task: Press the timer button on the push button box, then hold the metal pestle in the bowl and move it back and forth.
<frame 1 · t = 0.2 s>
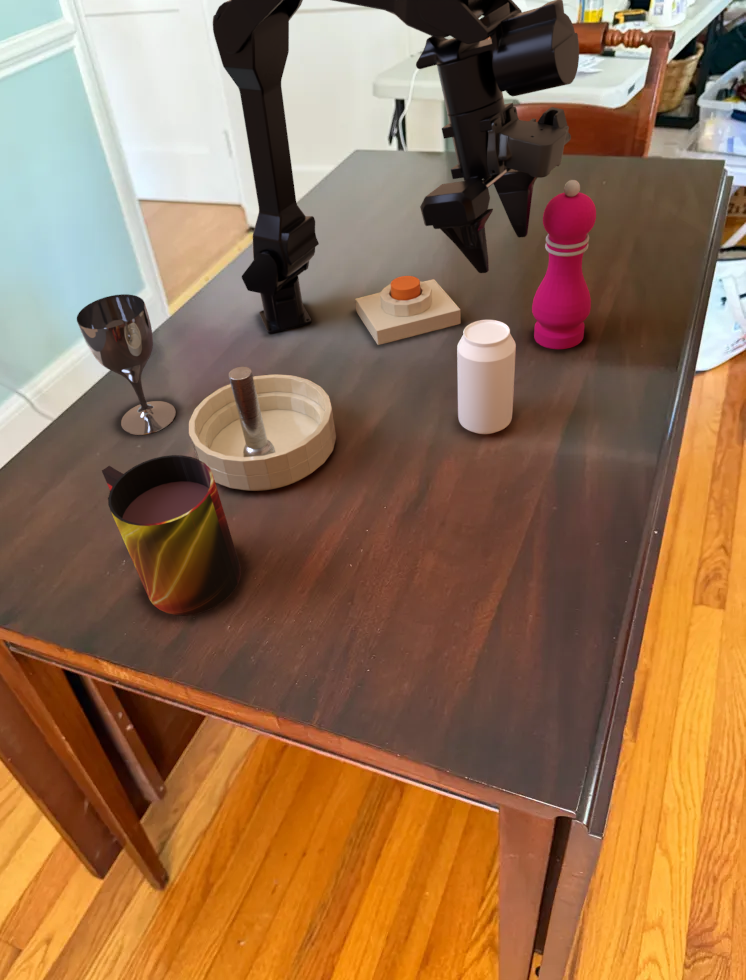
hand: (503, 254, 88), 15 cm above the table, tool pointing down, fingers open, 9 cm apart
metal pestle: (251, 421, 84), point 7 cm above the table, hinge at 0.0°
wine glass: (148, 418, 100), on the table
push button box: (407, 318, 110), on the table
timer button: (405, 288, 107), point 4 cm above the table, slide at 0.1 cm
beverage can: (484, 424, 91), on the table
bowl: (267, 449, 93), on the table
mug: (175, 577, 80), on the table
pepper mill: (558, 338, 103), on the table
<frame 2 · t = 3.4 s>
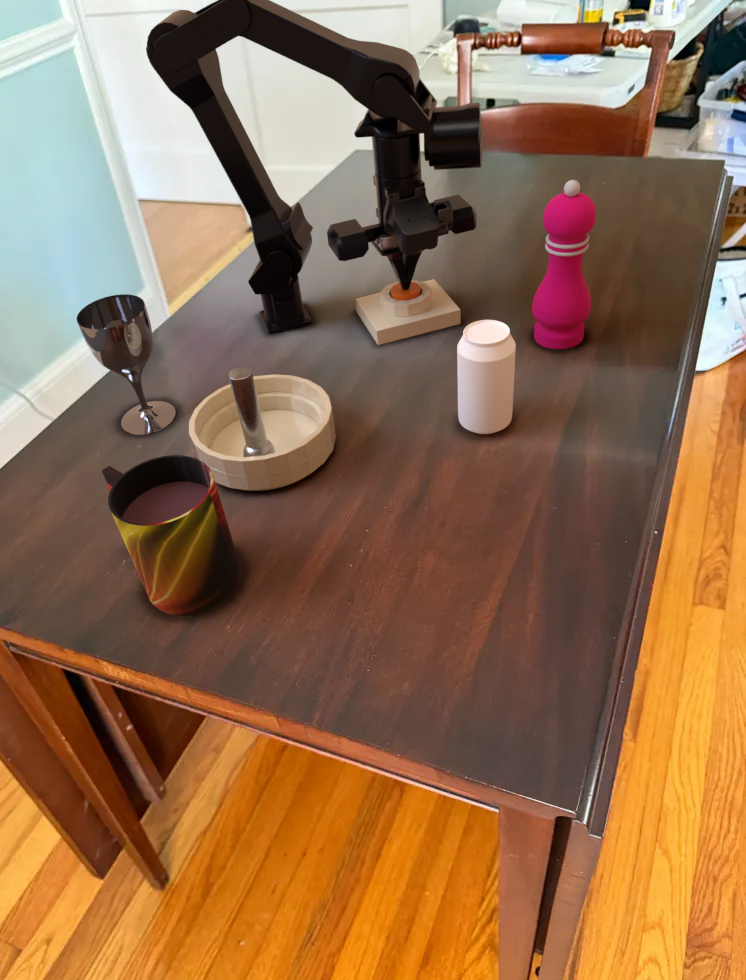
hand: (405, 288, 107), 5 cm above the table, tool pointing down, fingers closed, pressing on timer button
timer button: (405, 294, 108), point 4 cm above the table, slide at -0.7 cm, touching gripper
everything else where it was.
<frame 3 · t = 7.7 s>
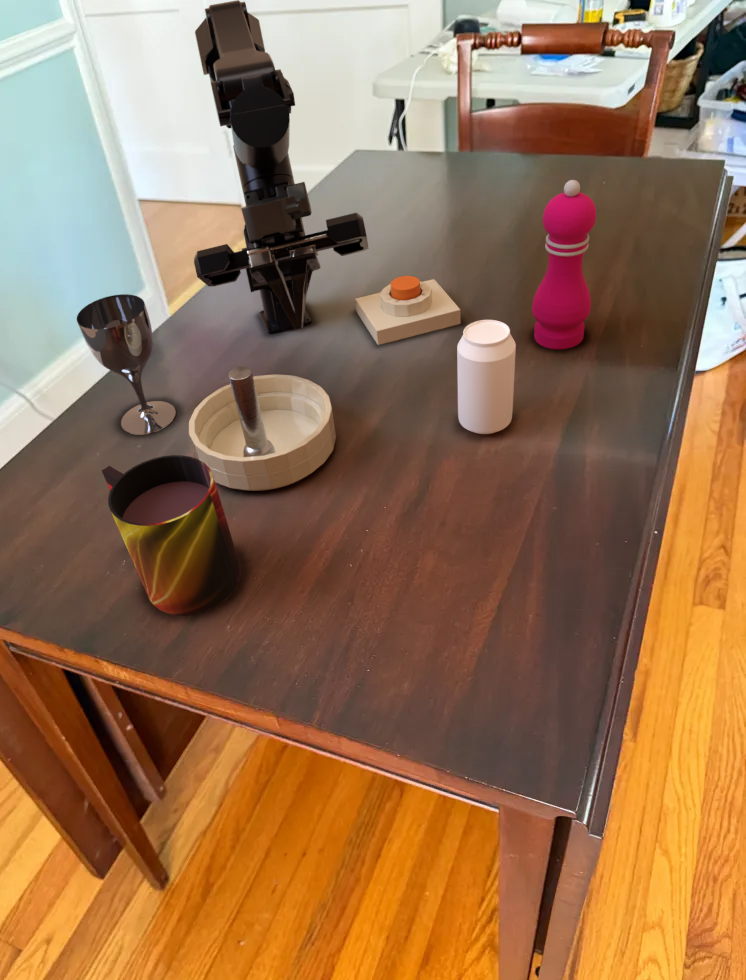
hand: (298, 329, 87), 13 cm above the table, tool tilted 40°, fingers closed
timer button: (405, 288, 107), point 4 cm above the table, slide at 0.1 cm
everything else where it was.
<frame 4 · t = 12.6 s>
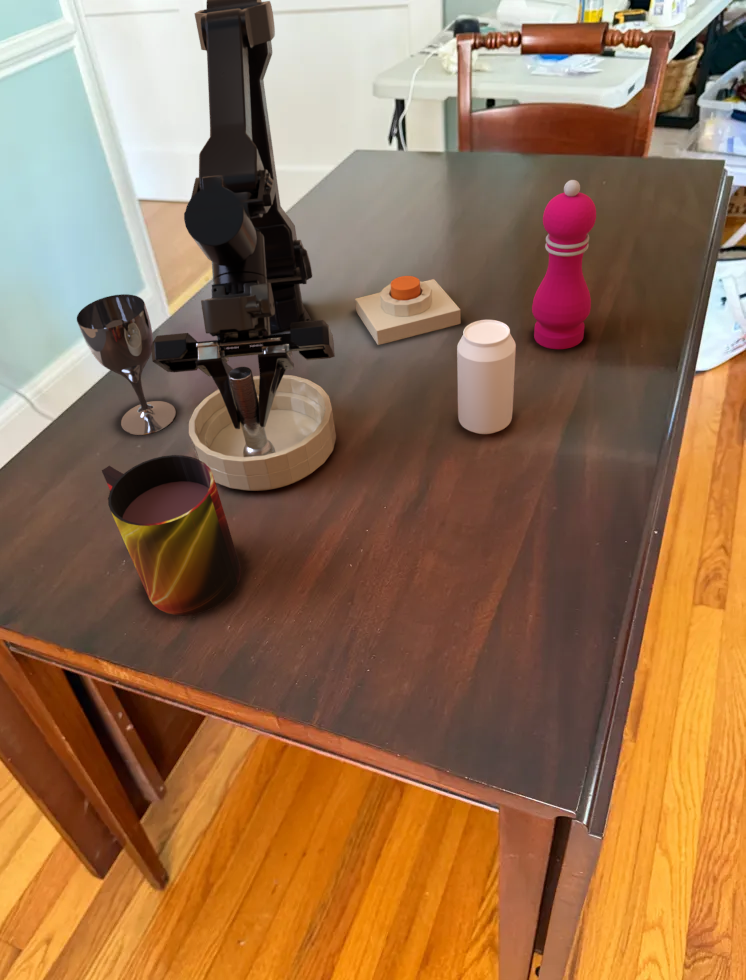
hand: (249, 427, 83), 8 cm above the table, tool tilted 45°, fingers closed on metal pestle, 2 cm apart
metal pestle: (251, 421, 84), point 7 cm above the table, hinge at 0.0°, touching gripper
everything else where it was.
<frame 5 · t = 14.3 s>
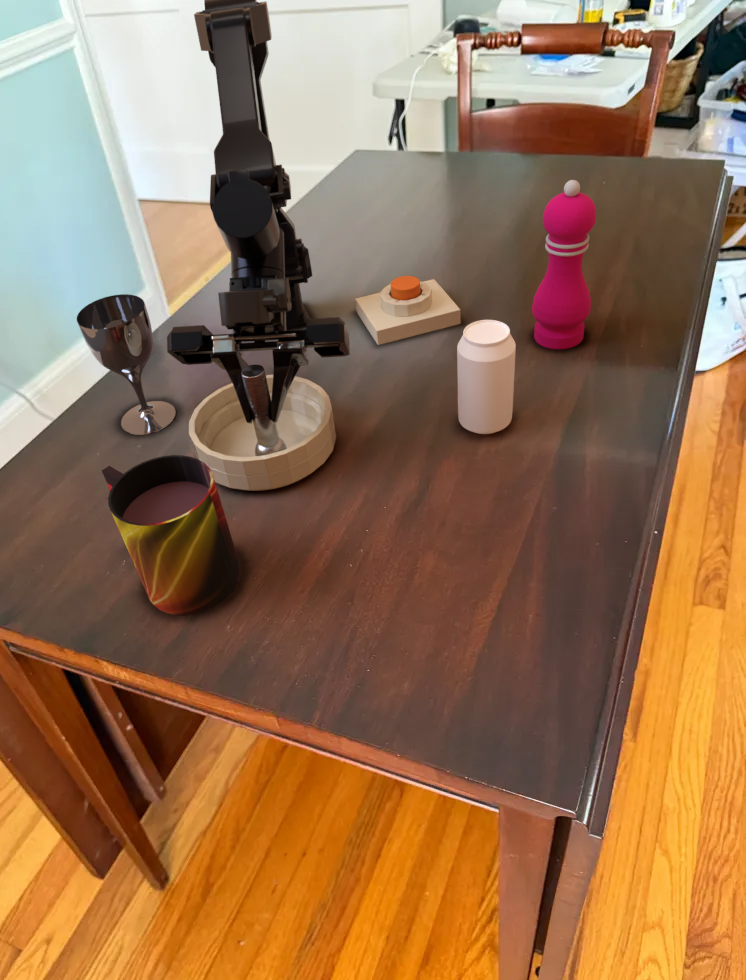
hand: (261, 422, 83), 8 cm above the table, tool tilted 45°, fingers closed on metal pestle, 2 cm apart
metal pestle: (263, 419, 84), point 7 cm above the table, hinge at 17.0°, touching gripper
everything else where it was.
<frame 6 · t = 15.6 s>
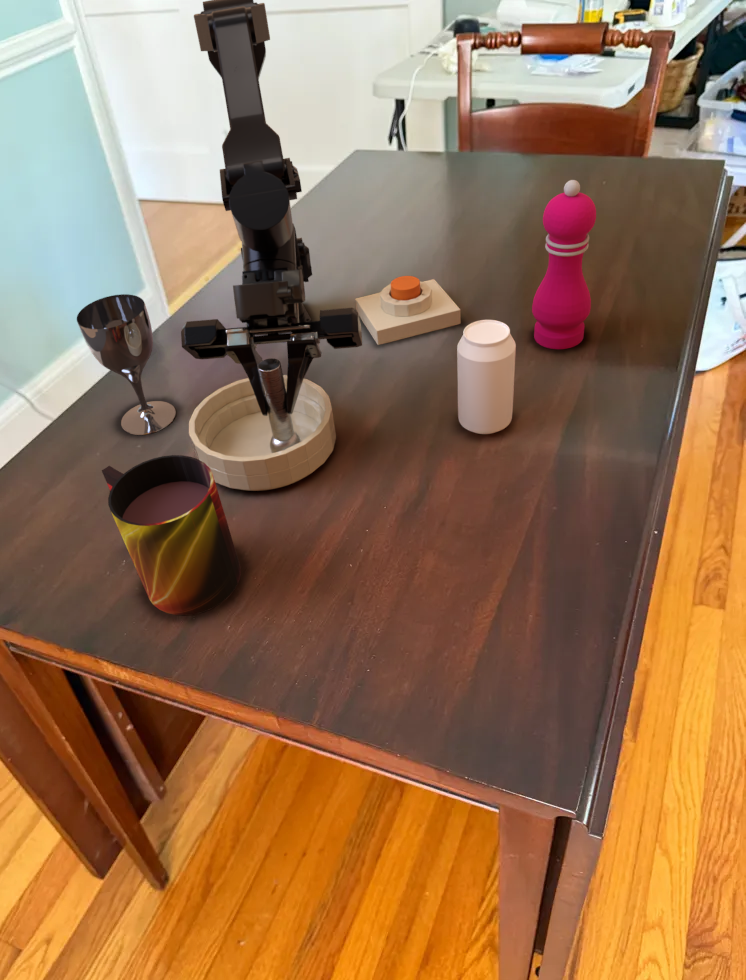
hand: (277, 414, 84), 8 cm above the table, tool tilted 45°, fingers closed on metal pestle, 2 cm apart
metal pestle: (279, 413, 85), point 7 cm above the table, hinge at 40.6°, touching gripper
everything else where it was.
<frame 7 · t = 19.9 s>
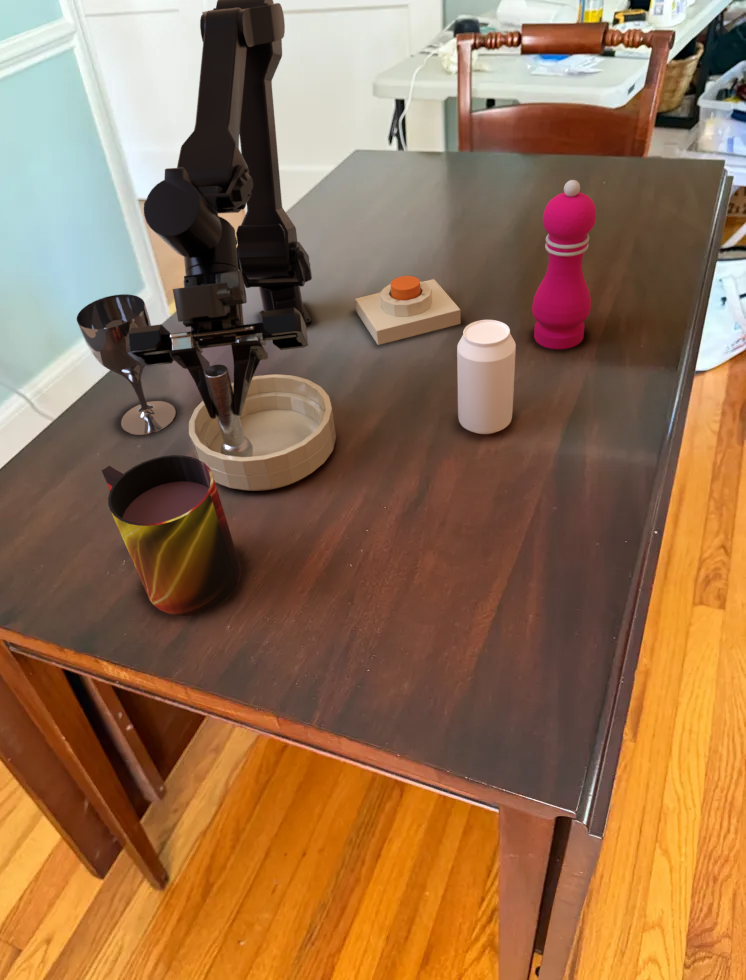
hand: (225, 416, 84), 8 cm above the table, tool tilted 45°, fingers closed on metal pestle, 2 cm apart
metal pestle: (228, 418, 85), point 7 cm above the table, hinge at -36.0°, touching gripper
everything else where it was.
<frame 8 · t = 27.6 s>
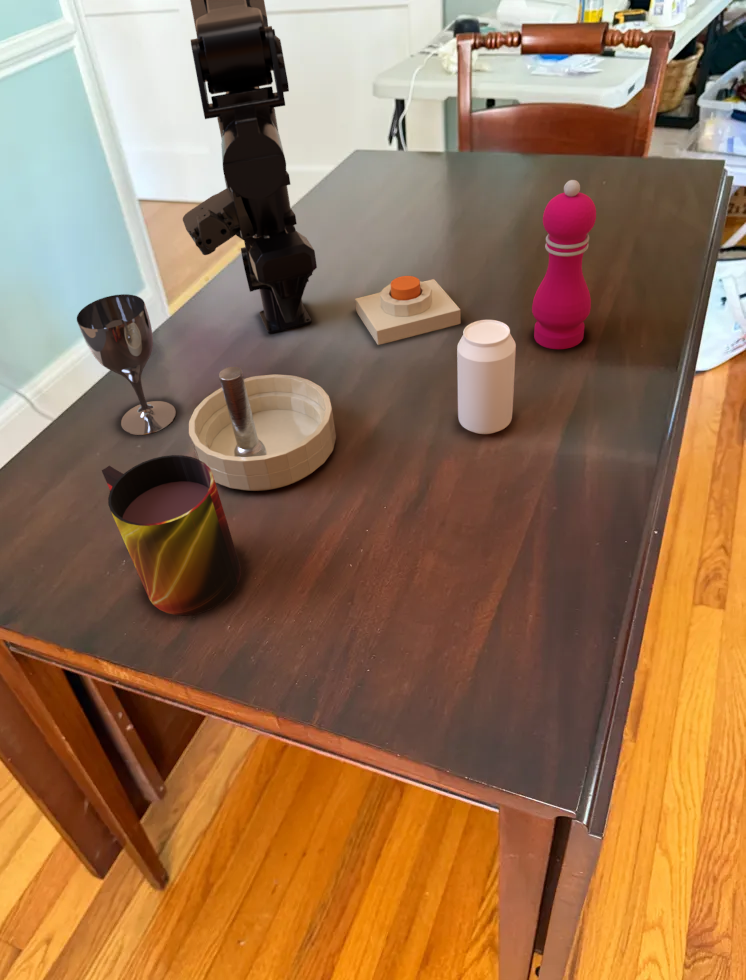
hand: (280, 303, 91), 13 cm above the table, tool pointing down, fingers open, 9 cm apart
metal pestle: (242, 421, 84), point 7 cm above the table, hinge at -13.1°
everything else where it was.
at the end: timer button pushed in 1.2 cm at the most during the clip, back to where it started at the end; metal pestle reached +41° during the clip, -13° at the end; metal pestle reached -37° during the clip, -13° at the end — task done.
